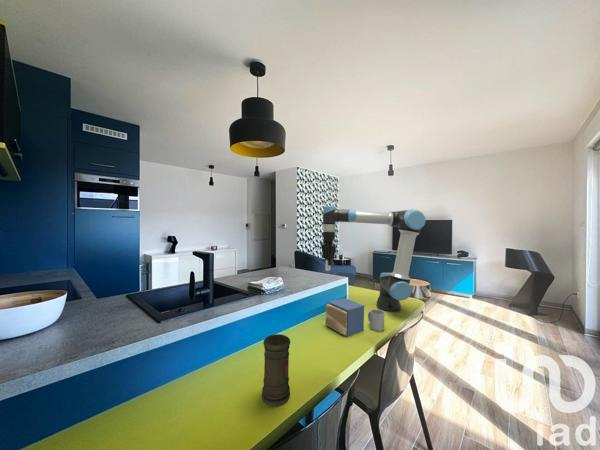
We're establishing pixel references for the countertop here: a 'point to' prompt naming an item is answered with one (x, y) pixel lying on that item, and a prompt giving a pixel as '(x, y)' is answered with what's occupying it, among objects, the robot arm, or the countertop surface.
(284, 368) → the container
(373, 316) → the cup
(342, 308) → the cabinet
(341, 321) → the door
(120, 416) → the countertop surface
